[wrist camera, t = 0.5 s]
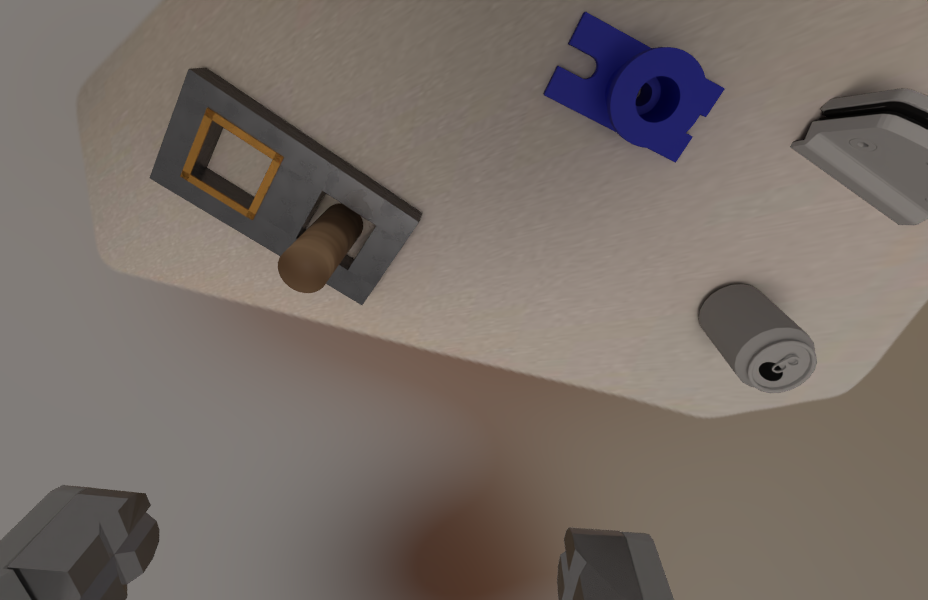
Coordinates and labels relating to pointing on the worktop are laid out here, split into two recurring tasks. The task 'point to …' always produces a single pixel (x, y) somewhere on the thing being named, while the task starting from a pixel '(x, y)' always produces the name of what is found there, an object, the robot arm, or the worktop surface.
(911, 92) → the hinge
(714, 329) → the can
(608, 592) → the robot arm
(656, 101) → the mount
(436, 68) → the worktop surface
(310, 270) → the peg
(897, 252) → the worktop surface
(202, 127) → the grey slotted board
